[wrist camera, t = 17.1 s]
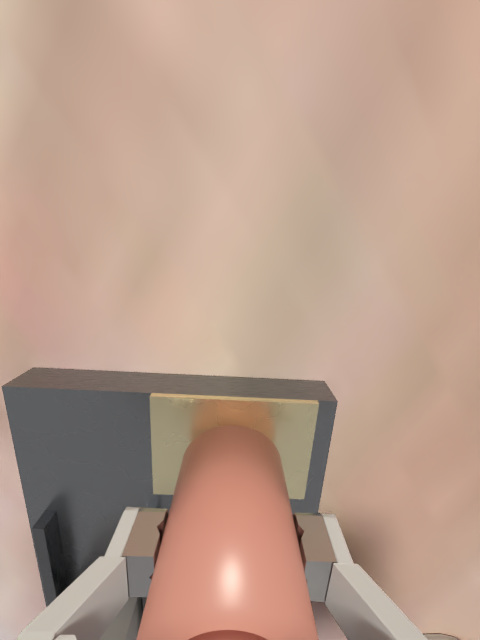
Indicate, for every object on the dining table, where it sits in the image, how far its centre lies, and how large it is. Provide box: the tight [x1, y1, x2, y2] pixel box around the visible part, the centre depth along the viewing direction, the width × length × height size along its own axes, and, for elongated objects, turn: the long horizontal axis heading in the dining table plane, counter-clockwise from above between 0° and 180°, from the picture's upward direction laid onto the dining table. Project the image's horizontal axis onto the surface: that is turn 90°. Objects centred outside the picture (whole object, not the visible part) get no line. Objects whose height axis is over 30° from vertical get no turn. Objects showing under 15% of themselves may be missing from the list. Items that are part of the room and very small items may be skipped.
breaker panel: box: [2, 368, 338, 615], centre depth 16 cm, size 20×16×3 cm
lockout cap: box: [136, 425, 319, 640], centre depth 9 cm, size 5×5×7 cm
